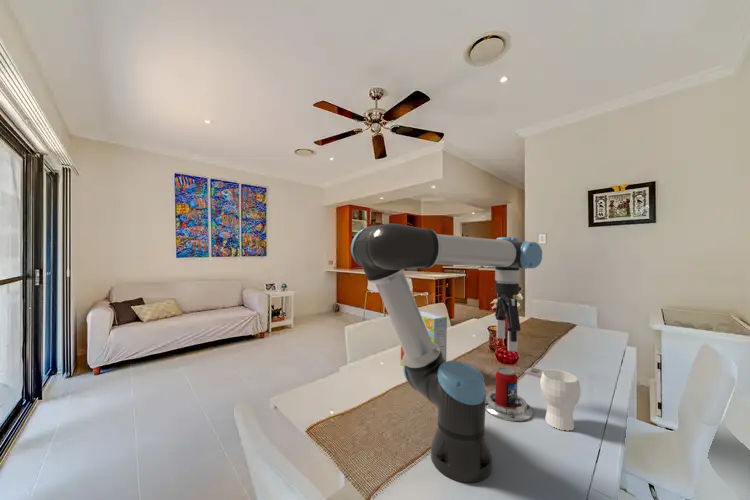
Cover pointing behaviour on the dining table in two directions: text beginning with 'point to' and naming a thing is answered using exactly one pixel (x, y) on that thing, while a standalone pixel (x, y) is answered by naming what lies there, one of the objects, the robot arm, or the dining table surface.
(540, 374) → the remote control
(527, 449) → the dining table surface
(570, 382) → the cup
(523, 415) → the flange
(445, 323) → the snack box
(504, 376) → the beverage can
